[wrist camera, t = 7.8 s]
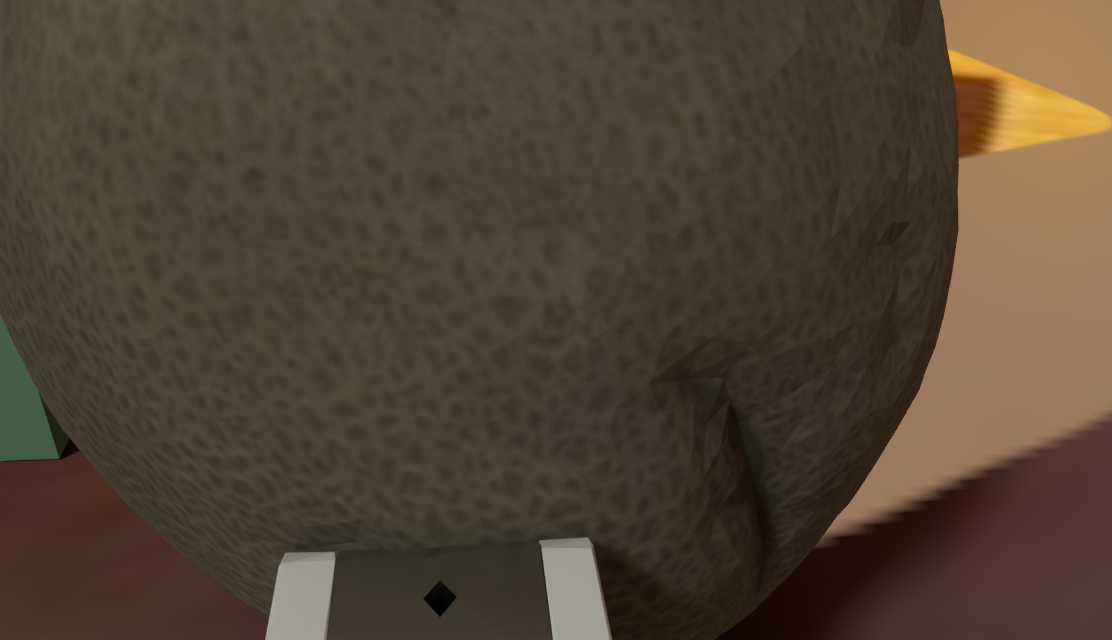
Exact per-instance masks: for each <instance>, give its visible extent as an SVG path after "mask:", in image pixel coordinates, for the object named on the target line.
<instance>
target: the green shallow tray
mask: <svg viewBox="0 0 1112 640" xmlns="http://www.w3.org/2000/svg"><path fill="white" fill-rule="evenodd" d="M69 439H70V438H69V436H68V435H67V434H66V433H65V432H64V430H63V429H62V428H61V426H60V425H59V423H58V422H57V420H56V419H55V417H54V415H53V414H52V412H51V411H50V409H49V408H48V406H47V405H46V403H45V402H44V400H43V399H42V397H41V395H40V394H39V392H38V390H37V388H36V386H35V384H34V382H33V380H32V378H31V376H30V374H29V372H28V371H27V369H26V367H25V365H24V363H23V361H22V359H21V357H20V355H19V353H18V351H17V349H16V348H15V346H14V344H13V341H12V339H11V337H10V335H9V332H8V330H7V328H6V326H5V323H4V321H3V319H2V317H1V314H0V460H1V461H8V460H37V459H59V458H60V456H61V455H62V453H63V451H64V449H65V447H66V445H67V443H68V441H69Z"/></svg>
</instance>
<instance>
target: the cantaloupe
mask: <svg viewBox="0 0 1112 640" xmlns="http://www.w3.org/2000/svg"><path fill="white" fill-rule="evenodd" d="M958 167H959V164H958V118H957V104H956V91H955V86H954V80H953V75H952V70H951V65H950V60H949V55H948V50H947V44H946V36H945V27H944V19H943V15H942V11H941V6H940V2H939V0H0V314H1V317H2V319H3V321H4V323H5V326H6V328H7V330H8V332H9V335H10V337H11V339H12V341H13V344H14V346H15V348H16V349H17V351H18V353H19V355H20V357H21V359H22V361H23V363H24V365H25V367H26V369H27V371H28V372H29V374H30V376H31V378H32V380H33V382H34V384H35V386H36V388H37V390H38V392H39V394H40V395H41V397H42V399H43V400H44V402H45V403H46V405H47V406H48V408H49V409H50V411H51V412H52V414H53V415H54V417H55V419H56V420H57V422H58V423H59V425H60V426H61V428H62V429H63V430H64V432H65V433H66V434H67V435H68V436H69V438H70V439H71V440H72V441H73V443H74V444H75V445H76V446H77V447H78V449H79V450H80V451H81V452H82V453H83V455H84V456H85V457H86V458H87V460H88V461H89V462H90V463H91V464H92V466H93V467H94V468H95V469H96V470H97V471H98V472H99V473H100V475H101V476H102V477H103V478H104V479H105V480H106V481H107V482H108V483H109V484H110V485H111V487H112V488H113V489H114V490H115V492H116V493H117V494H118V495H119V496H120V498H121V499H122V500H123V501H124V502H125V503H126V504H127V505H128V506H129V507H130V508H131V509H132V510H133V511H134V512H136V513H137V514H138V515H139V516H140V517H141V518H142V519H143V520H144V521H145V522H147V523H148V524H149V525H150V526H151V527H152V528H153V529H154V530H155V531H156V532H157V533H158V534H159V535H161V536H162V537H163V538H164V539H165V540H166V541H167V542H168V543H169V544H170V545H171V546H172V547H173V548H175V549H176V550H177V551H178V552H179V553H180V554H181V555H182V556H183V557H184V558H185V559H186V560H187V561H189V562H190V563H192V564H193V565H195V566H196V567H197V568H199V569H200V570H202V571H203V572H205V573H206V574H208V575H209V576H210V577H212V578H213V579H215V580H216V581H218V582H219V583H221V584H222V585H223V586H225V587H226V588H227V589H228V590H229V591H230V592H232V593H233V594H234V595H235V596H236V597H237V598H239V599H241V600H242V601H244V602H245V603H247V604H248V605H250V606H252V607H253V608H255V609H256V610H258V611H260V612H262V613H264V614H265V615H267V616H269V617H270V612H271V606H272V601H273V595H274V590H275V584H276V579H277V573H278V568H279V565H280V563H281V561H282V559H283V557H284V555H285V553H296V552H333V551H339V550H368V549H404V548H439V547H440V546H456V545H472V544H488V543H504V542H520V541H537V542H539V540H554V539H570V538H587V537H588V538H589V540H590V541H591V542H592V544H593V546H594V551H595V556H596V561H597V566H598V571H599V576H600V581H601V586H602V591H603V596H604V601H605V606H606V611H607V616H608V621H609V626H610V631H611V636H612V640H714V639H716V638H717V637H719V636H720V635H722V634H723V633H725V632H726V631H728V630H729V629H731V628H732V627H734V626H735V625H737V624H738V623H739V622H740V621H741V620H743V619H744V618H745V617H746V616H748V615H749V614H750V613H752V612H753V611H754V610H755V609H756V608H757V607H758V606H759V605H760V604H761V603H762V602H763V601H764V600H765V599H766V598H767V597H768V596H769V595H770V594H771V593H772V592H773V591H774V590H775V589H776V588H777V587H778V586H779V585H780V584H781V583H782V582H783V581H784V580H785V579H786V578H787V577H789V576H790V575H791V574H792V573H793V572H794V571H795V570H796V568H797V567H798V566H799V565H800V564H801V562H802V561H803V560H804V559H805V558H806V557H807V555H808V554H809V553H810V552H811V551H812V549H813V548H814V547H815V545H816V544H817V543H818V541H819V540H820V539H821V537H822V536H823V535H824V533H825V532H826V531H827V529H828V528H829V527H830V526H831V524H832V523H833V521H834V520H835V518H836V517H837V515H838V514H840V512H841V511H842V510H843V509H844V508H845V507H846V506H847V505H848V504H849V502H850V501H851V500H852V498H853V497H854V496H855V494H856V493H857V491H858V490H859V488H860V487H861V485H862V484H863V482H864V481H865V479H866V477H867V476H868V474H869V473H870V471H871V470H872V468H873V467H874V465H875V464H876V462H877V460H878V459H879V457H880V455H881V454H882V452H883V451H884V449H885V447H886V446H887V444H888V442H889V441H890V439H891V438H892V436H893V434H894V433H895V431H896V429H897V428H898V426H899V424H900V422H901V421H902V419H903V417H904V415H905V414H906V412H907V410H908V408H909V407H910V405H911V403H912V401H913V400H914V398H915V396H916V394H917V393H918V391H919V389H920V386H921V383H922V380H923V377H924V374H925V371H926V368H927V366H928V363H929V361H930V359H931V356H932V354H933V351H934V349H935V346H936V342H937V339H938V335H939V331H940V328H941V323H942V320H943V317H944V311H945V307H946V301H947V296H948V291H949V286H950V281H951V276H952V269H953V263H954V256H955V249H956V242H957V235H958V194H957V190H958Z"/></svg>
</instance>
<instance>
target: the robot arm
mask: <svg viewBox="0 0 1112 640" xmlns="http://www.w3.org/2000/svg"><path fill="white" fill-rule="evenodd" d="M265 640H612V636H611V631H610V626H609V621H608V616H607V611H606V606H605V601H604V596H603V591H602V586H601V581H600V576H599V571H598V566H597V561H596V556H595V551H594V546H593V544H592V542H591V541H590V540H589V538H588V537H587V538H570V539H554V540H539V542H537V541H520V542H504V543H488V544H472V545H456V546H440V547H439V548H404V549H368V550H339V551H333V552H296V553H285V555H284V557H283V559H282V561H281V563H280V565H279V568H278V573H277V579H276V584H275V590H274V595H273V601H272V606H271V612H270V617H269V623H268V628H267V634H266V639H265Z"/></svg>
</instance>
